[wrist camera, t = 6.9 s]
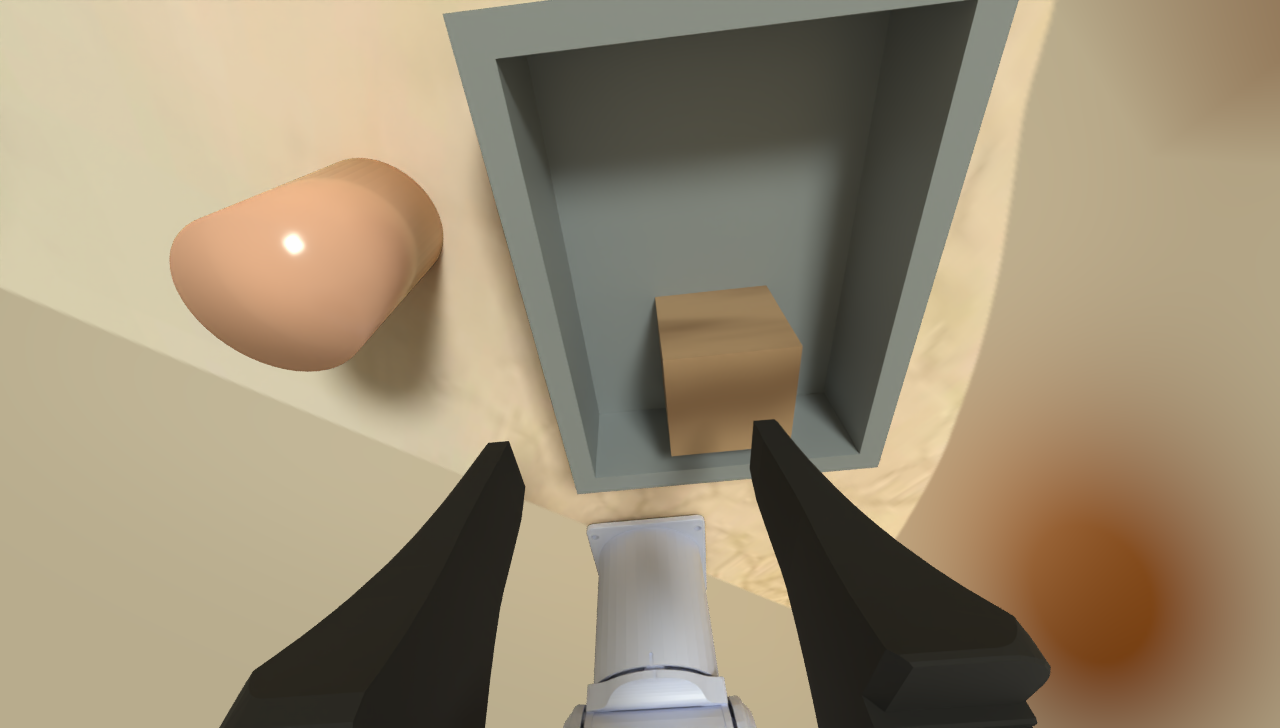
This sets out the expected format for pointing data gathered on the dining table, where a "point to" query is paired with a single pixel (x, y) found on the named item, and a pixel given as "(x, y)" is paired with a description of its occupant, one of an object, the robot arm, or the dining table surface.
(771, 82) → the box
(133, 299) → the dining table surface
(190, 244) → the terracotta cylinder
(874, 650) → the robot arm
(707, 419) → the walnut cube
